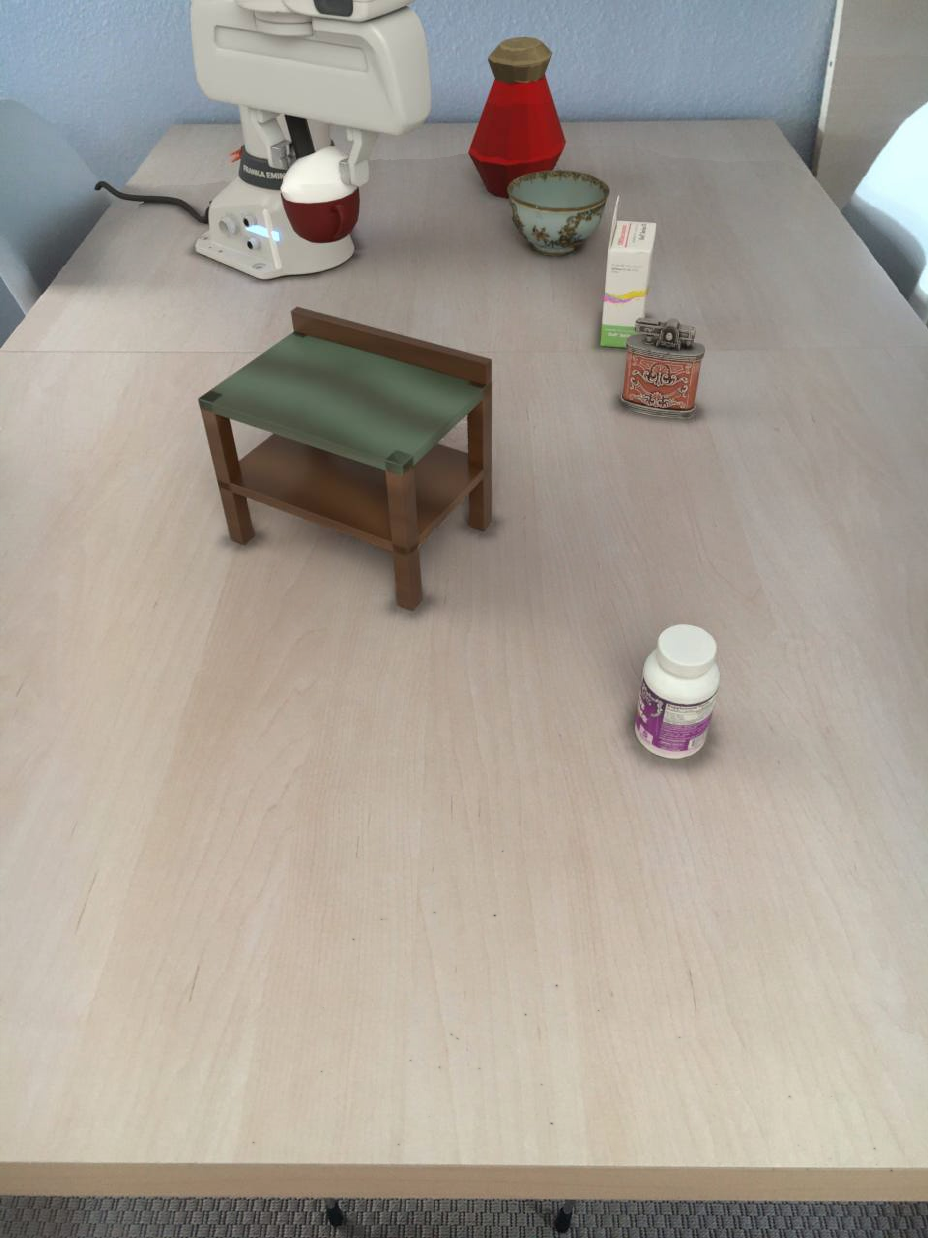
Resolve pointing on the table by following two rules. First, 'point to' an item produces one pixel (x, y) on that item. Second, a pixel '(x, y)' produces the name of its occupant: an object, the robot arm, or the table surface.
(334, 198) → the cocoa
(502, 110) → the bottle
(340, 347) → the green top side table
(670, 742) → the pill bottle
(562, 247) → the bowl
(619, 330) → the white medicine box
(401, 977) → the table surface
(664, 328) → the lighter
